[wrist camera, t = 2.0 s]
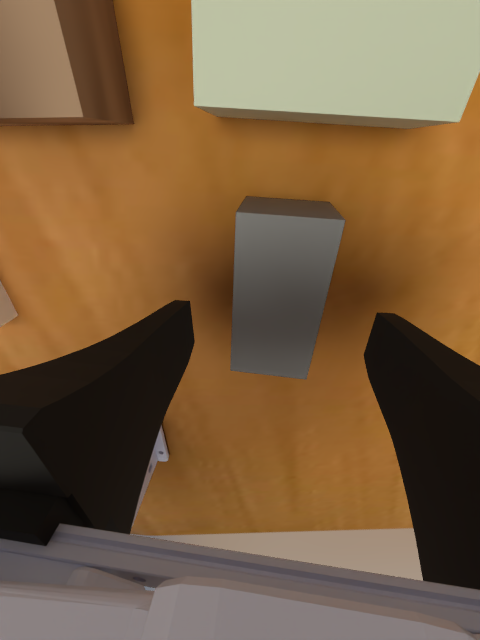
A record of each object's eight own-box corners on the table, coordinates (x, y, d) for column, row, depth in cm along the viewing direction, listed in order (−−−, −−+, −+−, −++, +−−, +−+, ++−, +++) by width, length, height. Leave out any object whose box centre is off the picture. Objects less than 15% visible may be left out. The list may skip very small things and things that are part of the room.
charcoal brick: (301, 334, 18) (306, 379, 14) (239, 328, 18) (230, 370, 15) (328, 201, 13) (345, 220, 10) (246, 195, 14) (235, 211, 10)
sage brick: (452, -15, 9) (550, -107, 6) (406, 129, 11) (459, 122, 8) (219, -22, 10) (188, -108, 6) (218, 117, 12) (194, 105, 9)
